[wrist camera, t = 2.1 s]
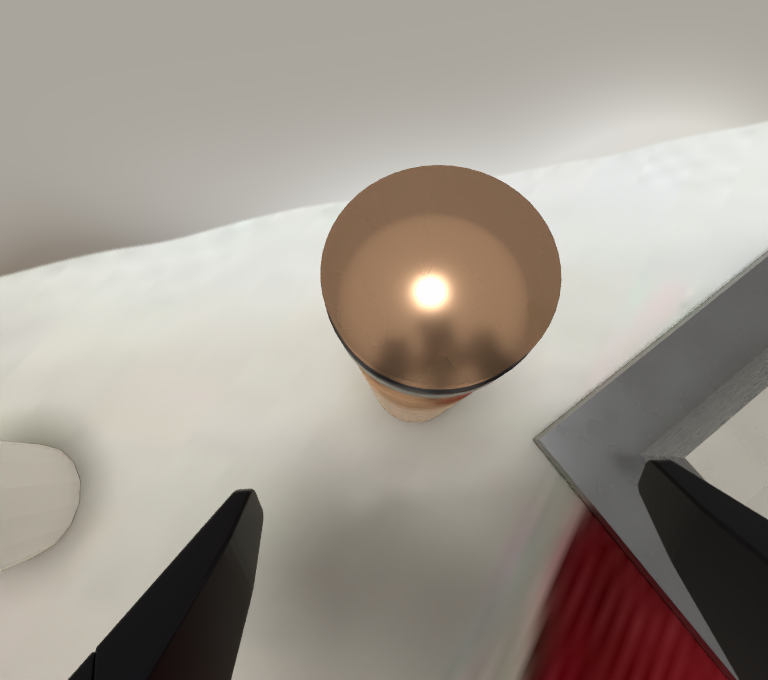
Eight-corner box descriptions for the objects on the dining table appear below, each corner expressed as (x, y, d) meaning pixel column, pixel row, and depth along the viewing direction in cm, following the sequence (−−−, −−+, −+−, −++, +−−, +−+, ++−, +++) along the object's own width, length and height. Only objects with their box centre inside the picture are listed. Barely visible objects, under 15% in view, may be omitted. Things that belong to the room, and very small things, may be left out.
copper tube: (473, 389, 20) (618, 288, 7) (406, 441, 20) (415, 443, 6) (422, 324, 21) (457, 124, 8) (356, 372, 21) (272, 246, 7)
